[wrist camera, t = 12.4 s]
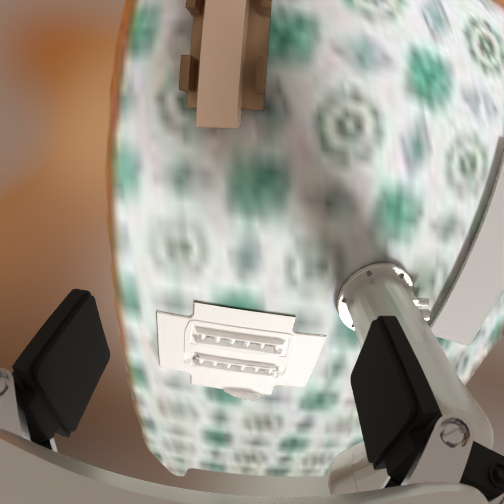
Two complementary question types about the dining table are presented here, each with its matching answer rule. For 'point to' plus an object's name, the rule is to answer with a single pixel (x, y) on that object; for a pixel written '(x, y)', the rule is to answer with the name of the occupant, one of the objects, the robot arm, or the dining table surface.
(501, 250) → the decorative molding
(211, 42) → the clay strip
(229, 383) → the tray
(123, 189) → the dining table surface
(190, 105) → the rack
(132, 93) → the dining table surface
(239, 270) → the dining table surface
